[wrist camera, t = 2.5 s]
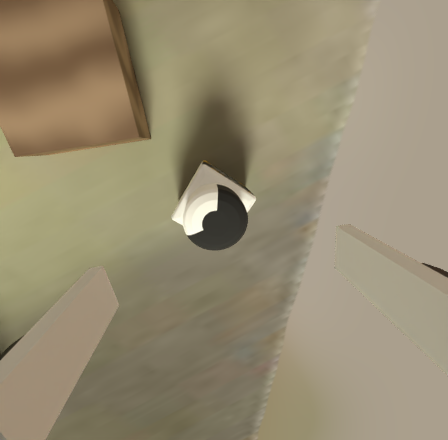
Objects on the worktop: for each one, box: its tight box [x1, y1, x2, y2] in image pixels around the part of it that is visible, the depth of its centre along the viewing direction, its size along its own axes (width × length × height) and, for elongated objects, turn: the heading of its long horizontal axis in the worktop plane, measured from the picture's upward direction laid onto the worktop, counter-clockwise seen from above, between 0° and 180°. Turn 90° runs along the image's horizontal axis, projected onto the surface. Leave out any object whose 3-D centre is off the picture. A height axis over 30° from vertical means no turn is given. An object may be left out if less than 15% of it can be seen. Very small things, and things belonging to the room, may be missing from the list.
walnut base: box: [0, 0, 151, 157], centre depth 22 cm, size 13×13×5 cm
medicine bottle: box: [172, 160, 256, 250], centre depth 24 cm, size 7×7×12 cm
